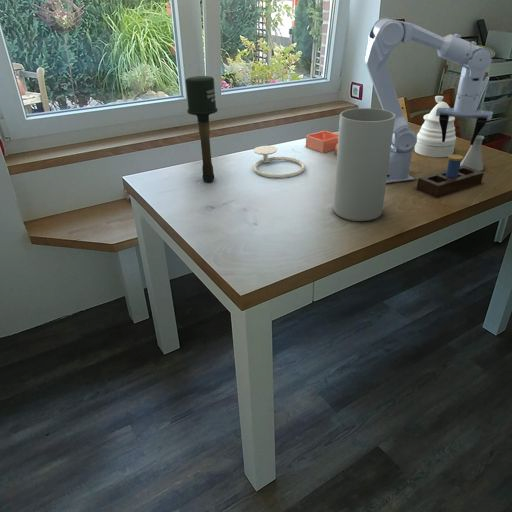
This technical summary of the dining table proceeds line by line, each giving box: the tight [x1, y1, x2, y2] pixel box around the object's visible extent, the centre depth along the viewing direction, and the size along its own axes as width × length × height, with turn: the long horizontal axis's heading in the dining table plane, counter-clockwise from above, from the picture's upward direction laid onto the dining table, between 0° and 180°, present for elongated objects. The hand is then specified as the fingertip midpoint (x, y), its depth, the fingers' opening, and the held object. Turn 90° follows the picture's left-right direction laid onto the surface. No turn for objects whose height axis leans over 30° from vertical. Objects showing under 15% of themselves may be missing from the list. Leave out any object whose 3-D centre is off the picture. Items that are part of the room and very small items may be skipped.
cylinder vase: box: [333, 107, 395, 222], centre depth 108 cm, size 12×12×25 cm
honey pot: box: [413, 95, 457, 158], centre depth 149 cm, size 13×13×18 cm
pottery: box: [305, 130, 339, 156], centre depth 155 cm, size 18×10×10 cm, turn 36°
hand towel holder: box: [252, 145, 306, 179], centre depth 143 cm, size 17×4×21 cm
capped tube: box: [446, 153, 464, 179], centre depth 125 cm, size 4×4×9 cm
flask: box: [460, 135, 485, 172], centre depth 136 cm, size 7×7×10 cm
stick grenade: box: [185, 75, 218, 183], centre depth 128 cm, size 8×9×30 cm
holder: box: [416, 165, 485, 199], centre depth 126 cm, size 7×18×4 cm, turn 119°
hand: (457, 142), depth 128 cm, fingers open, 7 cm apart
